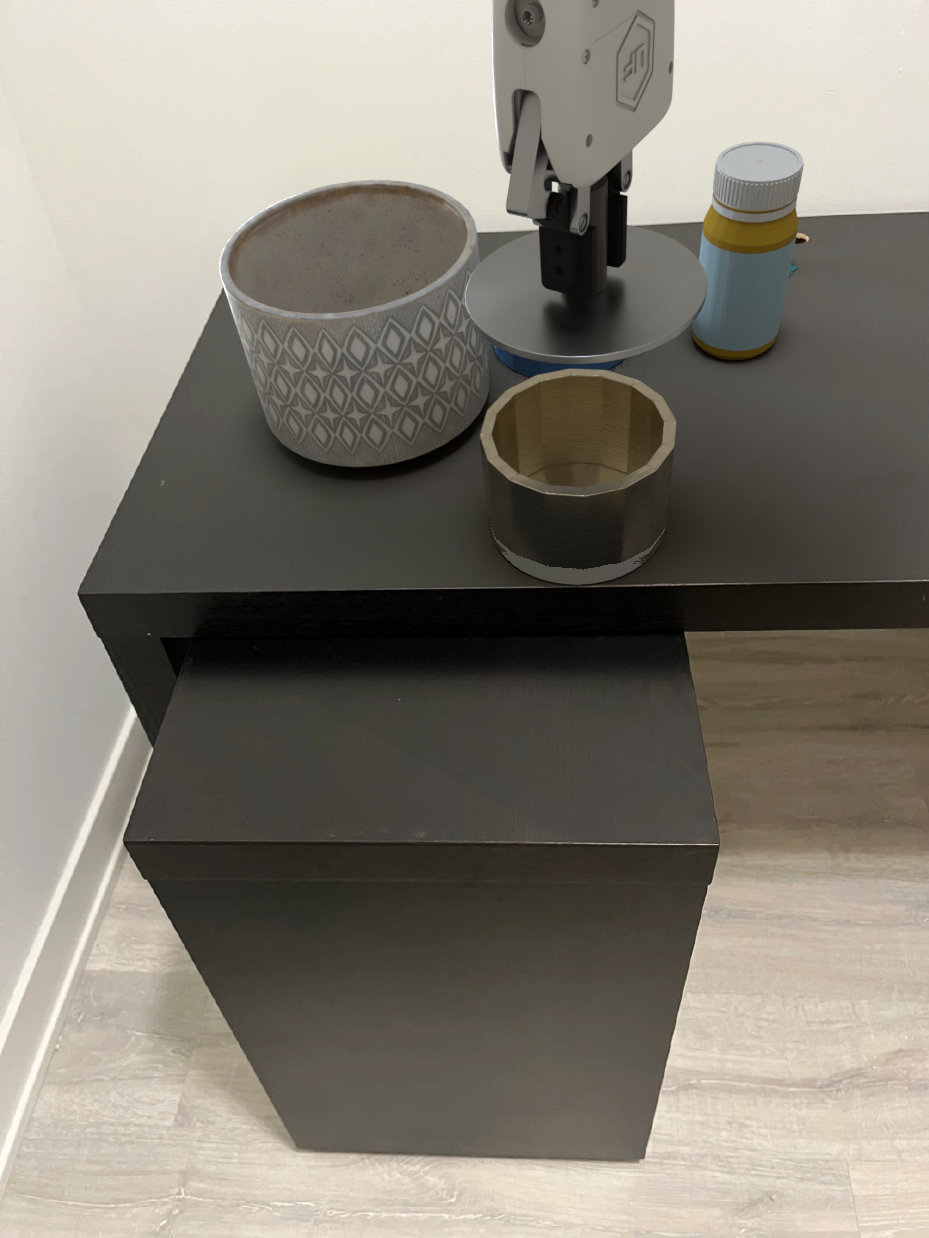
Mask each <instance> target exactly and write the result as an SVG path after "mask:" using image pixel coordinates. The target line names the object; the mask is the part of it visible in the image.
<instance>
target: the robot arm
mask: <svg viewBox="0 0 929 1238" xmlns="http://www.w3.org/2000/svg"><path fill="white" fill-rule="evenodd" d="M675 8H676V6H675V0H491V64H492V65H491V66H492V68H491V71H492V94H493V108H494V110H493V111H494V123H495V132H496V142H497V147H498V152H499V153H498V154H499V158H500V161H501V165H502V167H503V169H504V170H505V172H506V173H507V174H509V183H508V188H507V194H506V201H505V210H506V212H507V214H509V215H513V216H517V217H520V218H526V219H530V220H531V221H532V223H533V225H534V226H537V227H538V231H539V244H540V264H541V282H542V285H543V286H544V287H545V288H546V289H549V290H553V291H557V292H560V293H564V294H568V295H572V296H576V297H580V298H584V299H590V298H591V297H592V296H593V295H594V294H595V293H596V291H597V227H596V226H591V225H589V219H590V186H591V185H593V184H594V183H596V182H597V181H598V180H599V179H600V178H602V177H603V176H604V175H605V174H606V176H607V178H608V239H607V266H610V267H615V268H618V267H620V266H621V265H622V264H623V263H624V262H625V261H626V243H627V225H628V205H629V203H628V202H629V201H628V198H629V197H628V196H629V195H626V194H622V193H627V192H628V191H629V190H630V187H631V185H632V182H633V176H634V175H633V173H634V171H633V166H634V165H633V151H634V148H636V146H638V145H639V144H640V143H641V142H642V141H643V140H644V139H645V138H646V137H647V136H648V135H649V134H650V133H651V132H652V131H653V130H654V129H655V128H656V127H657V126H658V125H659V124H660V123H661V122H662V120H663V119H664V118H665V116H666V115H667V113H668V111H669V110H670V107H671V104H672V101H673V90H674V67H675V65H674V64H675V22H676V21H675V20H676V19H675V18H676V17H675V14H676V13H675V12H676V9H675ZM553 183H557V184H558V183H561V184H566V185H570V200H569V199H568V198H566V197H565V196H564V195H563V194H562V193H559V192H558V191H553Z"/></svg>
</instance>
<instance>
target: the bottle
mask: <svg viewBox="0 0 929 1238" xmlns="http://www.w3.org/2000/svg"><path fill="white" fill-rule="evenodd" d="M804 165H805V164H804V158H803V156H802V154H801V153H800V152H799V151H798V150H796V149H794V148H793V147H790V146H788V145H786V144H782V143H778V142H772V141H747V142H742V143H737V144H735V145H731V146H729V147H727V148H726V149H724V150H723V151H721V152H720V153H719V155H718V156H717V159H716V161H715V166H714V175H713V183H712V195H711V196H712V197H711V204H710V206H709V208H708V210H707V212H706V214H705V216H704V218H703V224H702V230H701V238H700V239H701V240H700V248H699V258H698V260H699V261H700V263H701V265H702V266H703V268H704V271H705V274H706V278H707V293H706V298H705V303H704V305H703V307H702V310H701V312H700V313H699V315H698V316H697V318H696V319H695V321H694V322H693V323H692V324H691V335H692V336H691V337H692V339H693V340H694V341H695V343H696V344H697V345H698V347H699V348H700V349H701V350H702V351H704V352H705V353H707V354H708V355H710V356H713V357H715V358H718V359H722V360H730V361H740V360H741V361H742V360H747V359H752V358H754V357H756V356H759V355H760V354H762V353H764V352H765V351H767V350H768V349H770V347H772V345H774V343H775V342H776V339H777V336H778V332H779V330H780V323H781V319H782V313H783V309H784V302H785V298H786V292H787V286H788V282H789V277H790V276H789V272H790V267H791V263H792V261H793V259H792V258H793V256H794V251H795V245H796V241H797V235H798V228H799V218H798V214H797V207H795V206H796V204H797V202H798V194H799V192H800V188H801V181H802V177H803V171H804Z"/></svg>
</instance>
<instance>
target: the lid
mask: <svg viewBox="0 0 929 1238" xmlns="http://www.w3.org/2000/svg"><path fill="white" fill-rule="evenodd" d="M557 192H559V193H562V194H563V195H564V196H565V197H566V198H568V199H569V200H570V185H566V184H561V183H557ZM589 225H591V226H596V227H597V291H596V293H595V294H594V295H593V296H592V297H591V298H590V299H584V298H580V297H576V296H572V295H568V294H564V293H560V292H557V291H553V290H549V289H546V288H545V287H544V286H543V285H542V282H541V264H540V244H539V230H538V231H533V232H531V233H529V234H526V235H523V236H521V237H518V238H516V239H513V240H512V241H509V242H507V243H506V244H504V245H501V246H500V247H499V248H497V249H496V250H494V251H492V252H491V253H490V254H488V256H487V257H485V258H484V259H483V260H482V261H481V262H480V264H479V265H478V266H477V268H476V269H475V270H474V272H473V273H472V275H471V277H470V279H469V281H468V283H467V287H466V291H465V305H466V310H467V314H468V317H469V319H470V321H471V323H472V325H473V326H474V328H475V329H476V330H477V331H478V333H479V334H480V335H482V336H483V337H484V338H485V339H486V342H489V343H490V344H492V346H493V345H495V346H496V347H498V348H500V349H502V350H505V351H507V352H509V353H511V354H514V355H517V356H520V357H523V358H527V359H531V360H535V361H541V362H547V363H555V364H594V363H604V362H610V361H616V360H621V359H624V360H625V359H628V358H632V357H633V358H634V357H636V356H639V355H642V354H645V353H647V352H651V351H653V350H655V349H657V348H659V347H661V346H663V345H665V344H667V343H669V342H670V341H672V340H674V339H676V338H677V337H678V336H680V335H681V334H682V333H683V332H685V331H686V330H687V329H688V328H689V327H690V326H692V323H693V322H694V321H695V319H696V318H697V316H698V315H699V313H700V312H701V310H702V307H703V305H704V303H705V298H706V293H707V278H706V274H705V271H704V268H703V266H702V265H701V263H700V261H699V258H698V257H697V256H696V255H695V253H693V252H692V251H691V250H690V249H688V248H687V246H685V245H683V244H682V243H680V242H679V241H677V240H676V239H674V238H671V237H669V236H667V235H665V234H663V233H660V232H657V231H655V230H651V229H647V228H643V227H639V226H634V225H629V224H627V243H626V261H625V262H624V263H623V264H622V265H621V266H620V267H618V268H615V267H610V266H607V239H608V178H607V176H606V174H605V175H604V176H603V177H602V178H600V179H599V180H598V181H597V182H596V183H594V184H593V185H591V186H590V219H589Z"/></svg>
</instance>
